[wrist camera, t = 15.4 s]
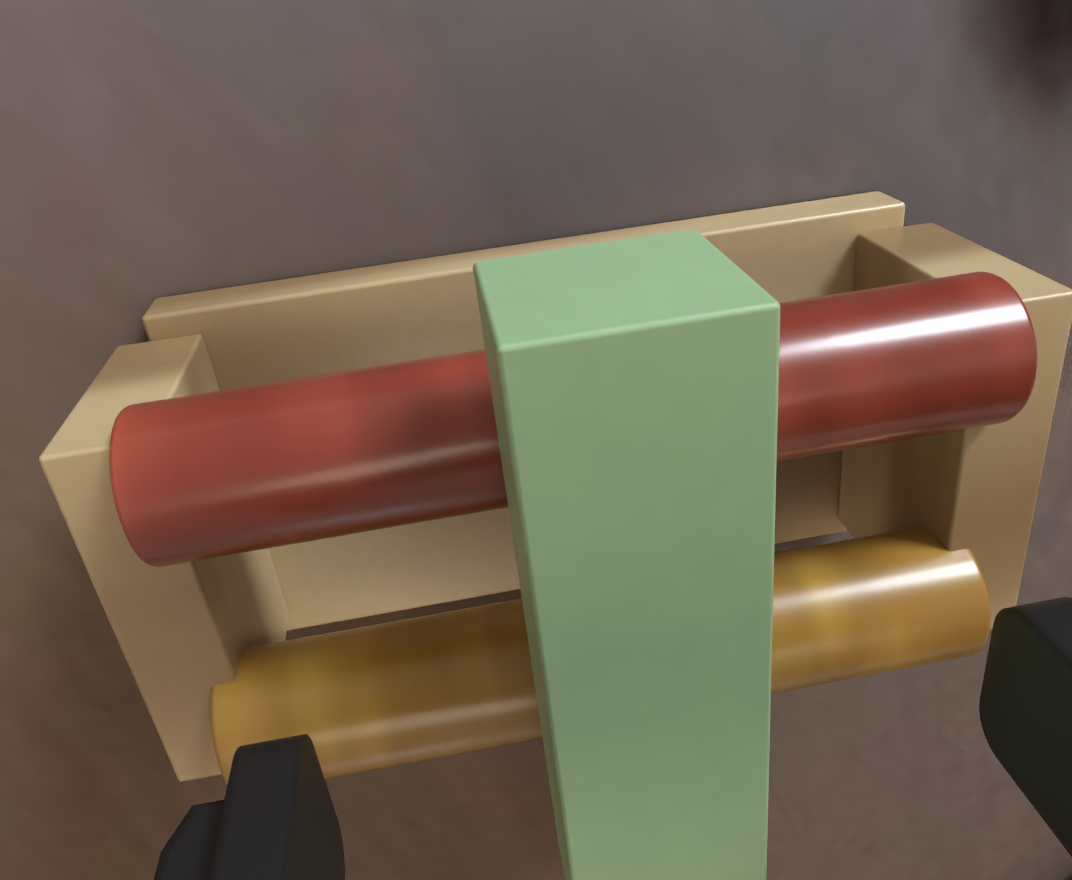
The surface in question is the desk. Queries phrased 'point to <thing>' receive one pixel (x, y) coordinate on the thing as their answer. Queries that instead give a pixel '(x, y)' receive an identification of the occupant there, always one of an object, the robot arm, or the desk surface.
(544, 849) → the desk surface
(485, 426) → the rod rack
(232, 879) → the robot arm
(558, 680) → the bar
